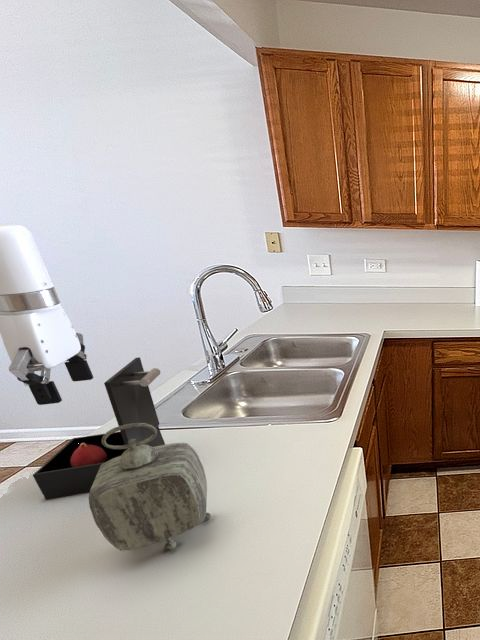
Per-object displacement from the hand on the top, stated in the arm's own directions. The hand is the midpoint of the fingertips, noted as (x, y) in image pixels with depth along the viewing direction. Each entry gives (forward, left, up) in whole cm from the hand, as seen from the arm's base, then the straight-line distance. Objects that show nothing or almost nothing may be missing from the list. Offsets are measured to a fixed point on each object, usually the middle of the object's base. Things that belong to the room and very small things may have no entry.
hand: (67, 390), depth 74 cm
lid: (+3, +11, -10) cm, 15 cm away
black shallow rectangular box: (-6, +11, -26) cm, 29 cm away
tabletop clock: (+15, -17, -26) cm, 34 cm away
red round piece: (-9, +11, -25) cm, 29 cm away
